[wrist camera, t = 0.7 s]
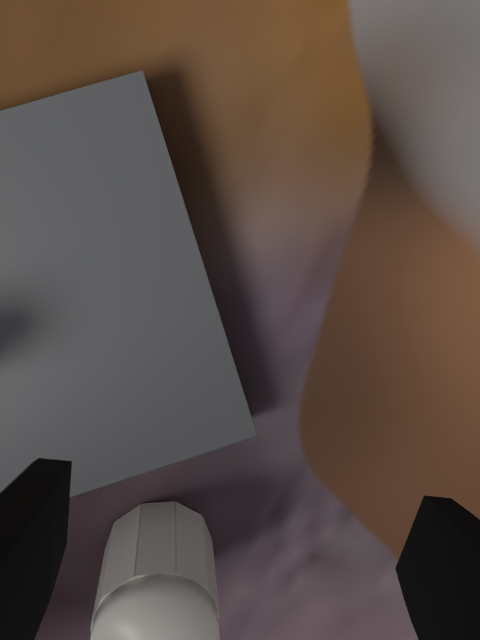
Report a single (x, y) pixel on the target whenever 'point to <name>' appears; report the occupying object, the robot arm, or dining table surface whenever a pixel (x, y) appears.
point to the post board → (104, 296)
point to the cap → (157, 577)
